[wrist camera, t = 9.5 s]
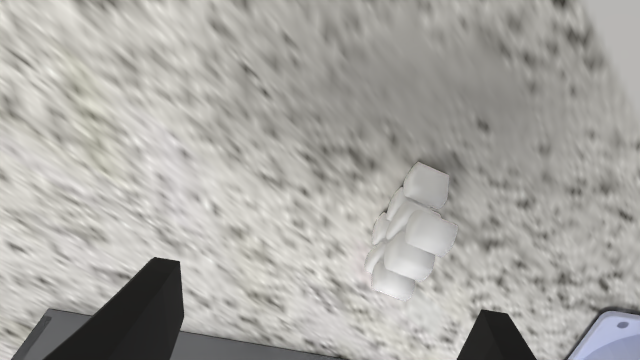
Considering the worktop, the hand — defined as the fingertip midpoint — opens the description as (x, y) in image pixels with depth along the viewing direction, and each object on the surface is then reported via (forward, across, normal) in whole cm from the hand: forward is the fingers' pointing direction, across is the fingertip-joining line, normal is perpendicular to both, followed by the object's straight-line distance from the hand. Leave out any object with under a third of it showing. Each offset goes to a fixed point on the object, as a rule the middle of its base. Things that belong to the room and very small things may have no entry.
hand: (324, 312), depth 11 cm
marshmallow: (+10, -3, +4) cm, 11 cm away
